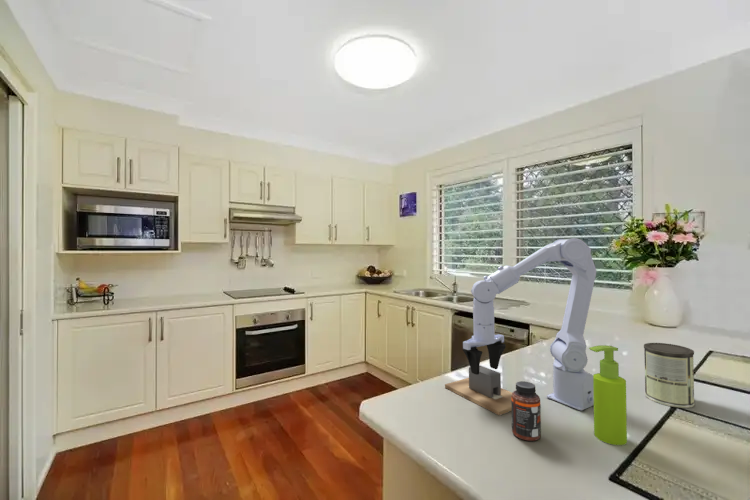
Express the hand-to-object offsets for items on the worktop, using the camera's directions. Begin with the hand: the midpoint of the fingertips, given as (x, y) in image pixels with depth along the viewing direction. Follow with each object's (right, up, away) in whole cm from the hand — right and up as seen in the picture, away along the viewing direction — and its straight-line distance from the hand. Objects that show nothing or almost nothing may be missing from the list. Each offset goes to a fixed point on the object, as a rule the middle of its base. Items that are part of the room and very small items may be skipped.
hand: (484, 370), depth 95 cm
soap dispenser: (+20, -7, -22) cm, 30 cm away
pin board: (0, -7, 0) cm, 7 cm away
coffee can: (+49, -7, -4) cm, 49 cm away
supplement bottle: (+3, -7, -20) cm, 22 cm away
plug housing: (0, -6, 0) cm, 6 cm away
